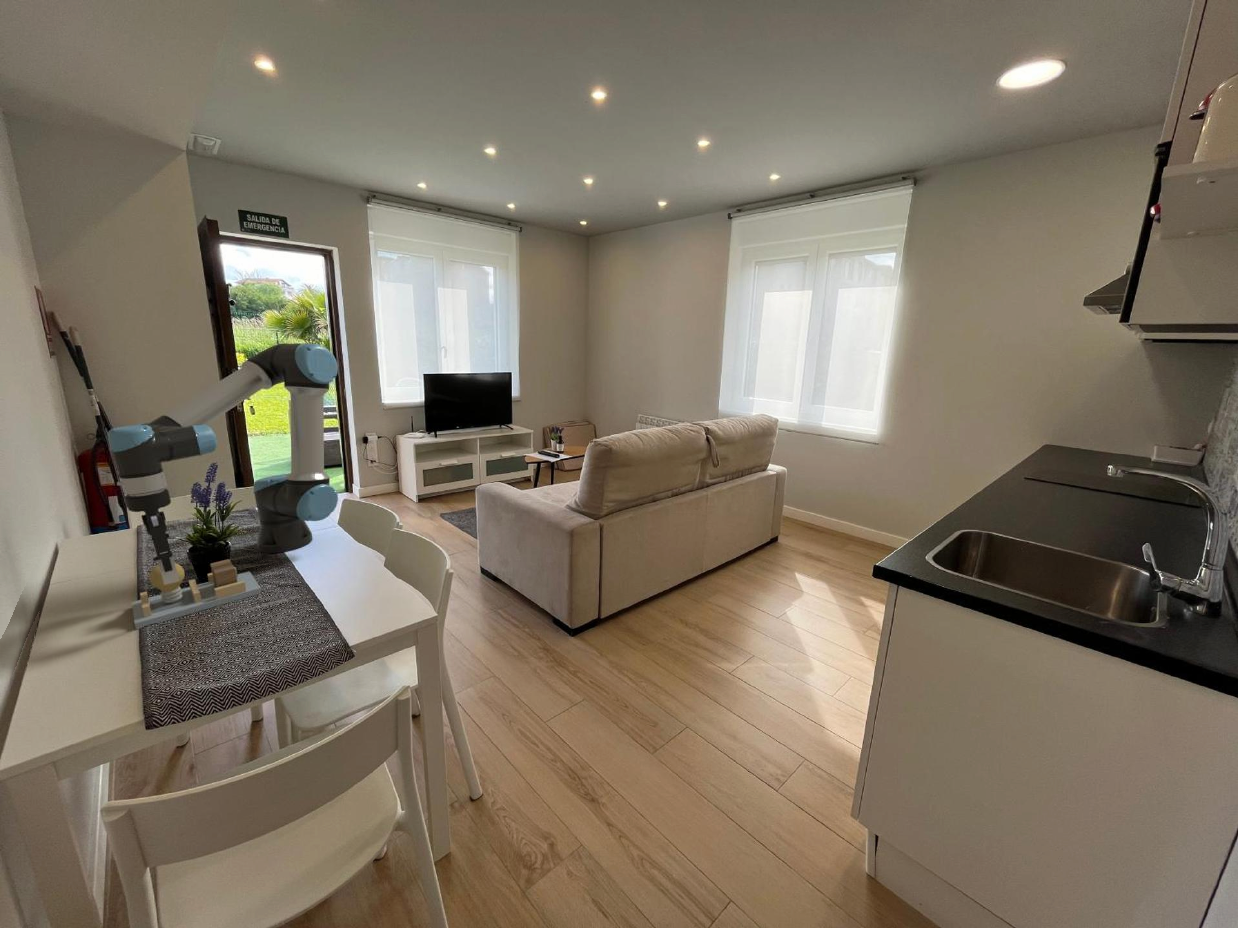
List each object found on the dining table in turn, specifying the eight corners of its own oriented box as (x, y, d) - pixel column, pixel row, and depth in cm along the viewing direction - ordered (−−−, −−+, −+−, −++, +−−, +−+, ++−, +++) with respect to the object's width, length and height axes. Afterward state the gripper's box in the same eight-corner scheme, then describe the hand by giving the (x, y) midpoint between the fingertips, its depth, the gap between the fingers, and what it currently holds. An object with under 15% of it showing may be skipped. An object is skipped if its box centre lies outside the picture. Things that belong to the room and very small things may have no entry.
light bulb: (157, 610, 118) (148, 572, 116) (154, 601, 122) (145, 564, 120) (191, 600, 123) (183, 563, 120) (187, 592, 127) (179, 556, 125)
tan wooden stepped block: (214, 584, 131) (210, 563, 130) (233, 579, 134) (229, 559, 132) (219, 594, 126) (215, 573, 124) (238, 589, 128) (234, 568, 127)
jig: (133, 607, 123) (129, 592, 122) (250, 576, 139) (248, 563, 138) (136, 629, 113) (132, 613, 112) (261, 592, 130) (258, 579, 129)
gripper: (122, 484, 121) (144, 562, 127) (126, 508, 105) (152, 596, 110) (162, 477, 127) (182, 553, 132) (172, 499, 110) (195, 584, 115)
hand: (169, 573), depth 121 cm, fingers open, 13 cm apart
